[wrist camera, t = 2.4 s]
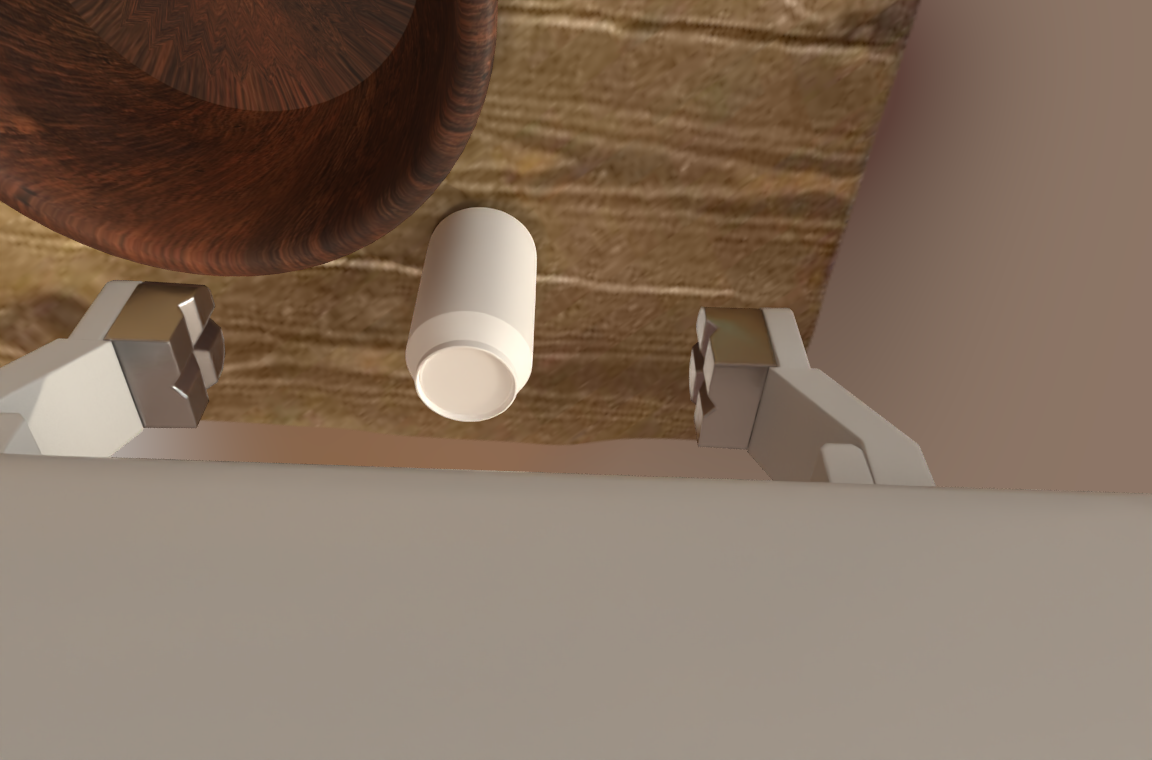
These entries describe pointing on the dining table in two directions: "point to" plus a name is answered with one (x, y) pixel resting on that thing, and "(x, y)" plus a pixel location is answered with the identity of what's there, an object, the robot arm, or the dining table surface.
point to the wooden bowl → (235, 122)
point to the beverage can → (474, 315)
